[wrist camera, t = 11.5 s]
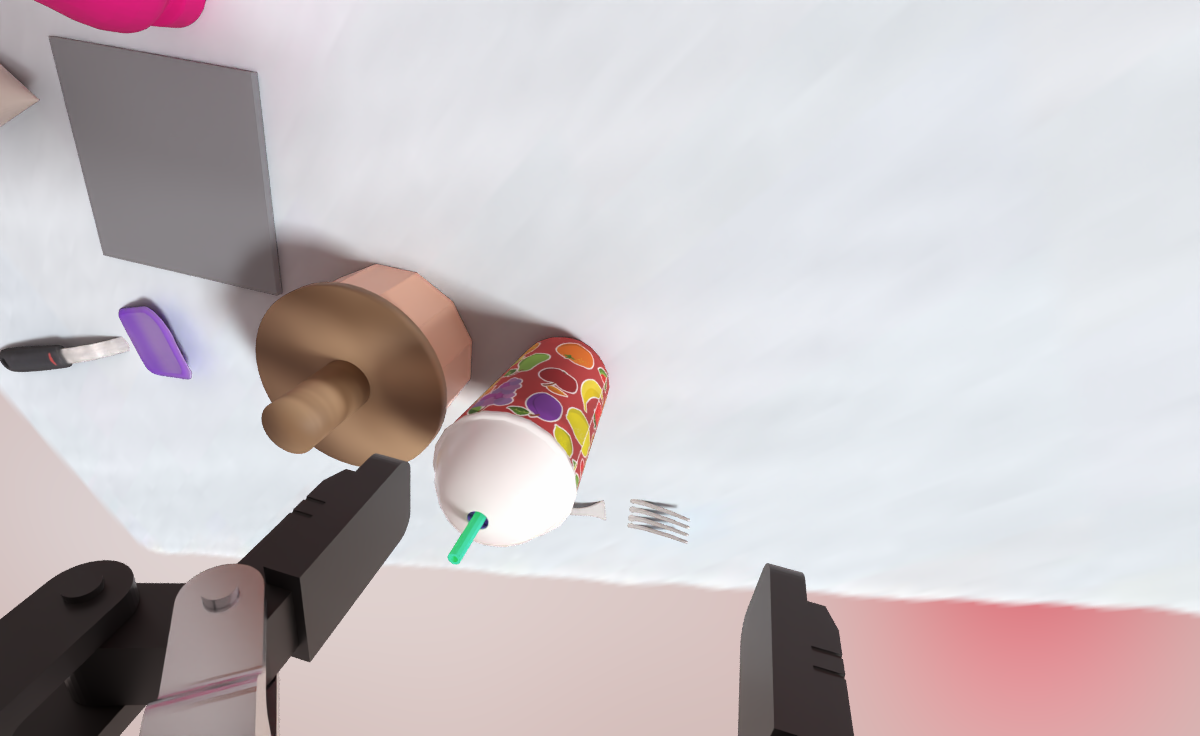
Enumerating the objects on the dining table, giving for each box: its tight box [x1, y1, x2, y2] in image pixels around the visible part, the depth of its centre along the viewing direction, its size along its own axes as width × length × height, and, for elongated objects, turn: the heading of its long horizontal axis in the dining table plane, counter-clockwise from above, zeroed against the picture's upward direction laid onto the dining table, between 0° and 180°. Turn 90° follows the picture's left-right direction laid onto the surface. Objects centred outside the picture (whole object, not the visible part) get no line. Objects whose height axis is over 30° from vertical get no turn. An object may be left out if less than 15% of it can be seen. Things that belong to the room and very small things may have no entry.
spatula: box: [0, 306, 192, 379], centre depth 55 cm, size 24×7×2 cm, turn 102°
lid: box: [256, 282, 447, 466], centre depth 40 cm, size 14×14×7 cm
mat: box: [49, 36, 282, 295], centre depth 46 cm, size 16×16×1 cm
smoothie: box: [433, 337, 609, 564], centre depth 37 cm, size 8×8×20 cm
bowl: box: [333, 264, 472, 408], centre depth 46 cm, size 12×12×6 cm
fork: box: [570, 499, 690, 543], centre depth 52 cm, size 3×24×2 cm, turn 92°
